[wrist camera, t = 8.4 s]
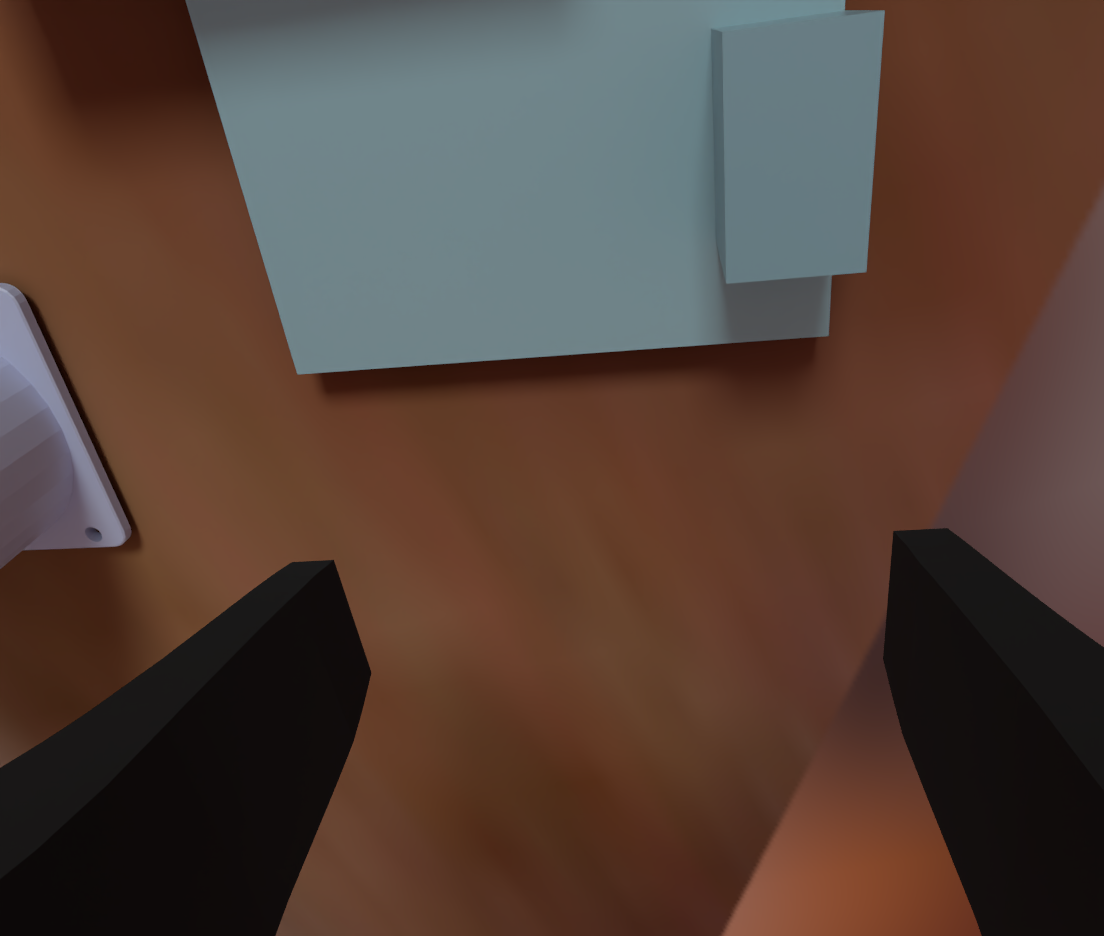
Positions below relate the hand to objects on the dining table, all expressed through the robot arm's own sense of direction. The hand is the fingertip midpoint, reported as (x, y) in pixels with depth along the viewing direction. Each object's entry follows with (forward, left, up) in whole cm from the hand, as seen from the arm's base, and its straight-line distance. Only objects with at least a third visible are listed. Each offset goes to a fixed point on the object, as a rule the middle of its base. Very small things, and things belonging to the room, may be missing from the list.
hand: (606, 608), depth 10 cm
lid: (-2, +4, -11) cm, 12 cm away
